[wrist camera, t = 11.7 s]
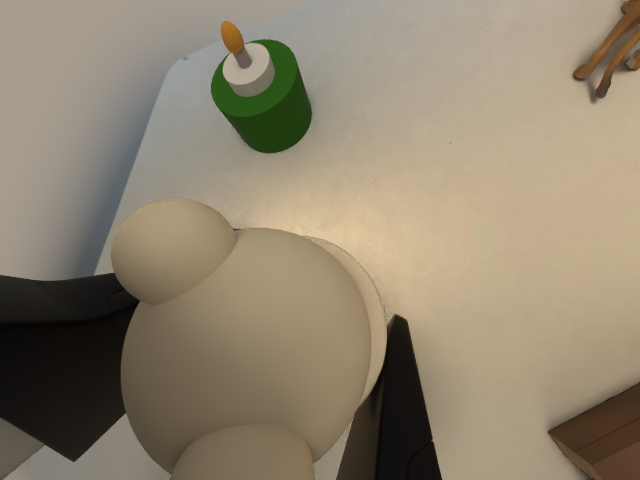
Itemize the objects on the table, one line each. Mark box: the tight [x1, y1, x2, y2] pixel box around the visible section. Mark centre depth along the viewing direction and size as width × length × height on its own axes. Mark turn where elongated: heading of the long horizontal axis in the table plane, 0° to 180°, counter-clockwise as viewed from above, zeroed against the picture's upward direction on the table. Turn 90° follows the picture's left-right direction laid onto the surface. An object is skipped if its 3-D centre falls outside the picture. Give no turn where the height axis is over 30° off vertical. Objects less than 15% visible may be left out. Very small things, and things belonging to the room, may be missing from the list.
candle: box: [211, 21, 312, 153], centre depth 22 cm, size 8×8×10 cm
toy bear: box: [111, 198, 387, 480], centre depth 7 cm, size 5×5×10 cm
